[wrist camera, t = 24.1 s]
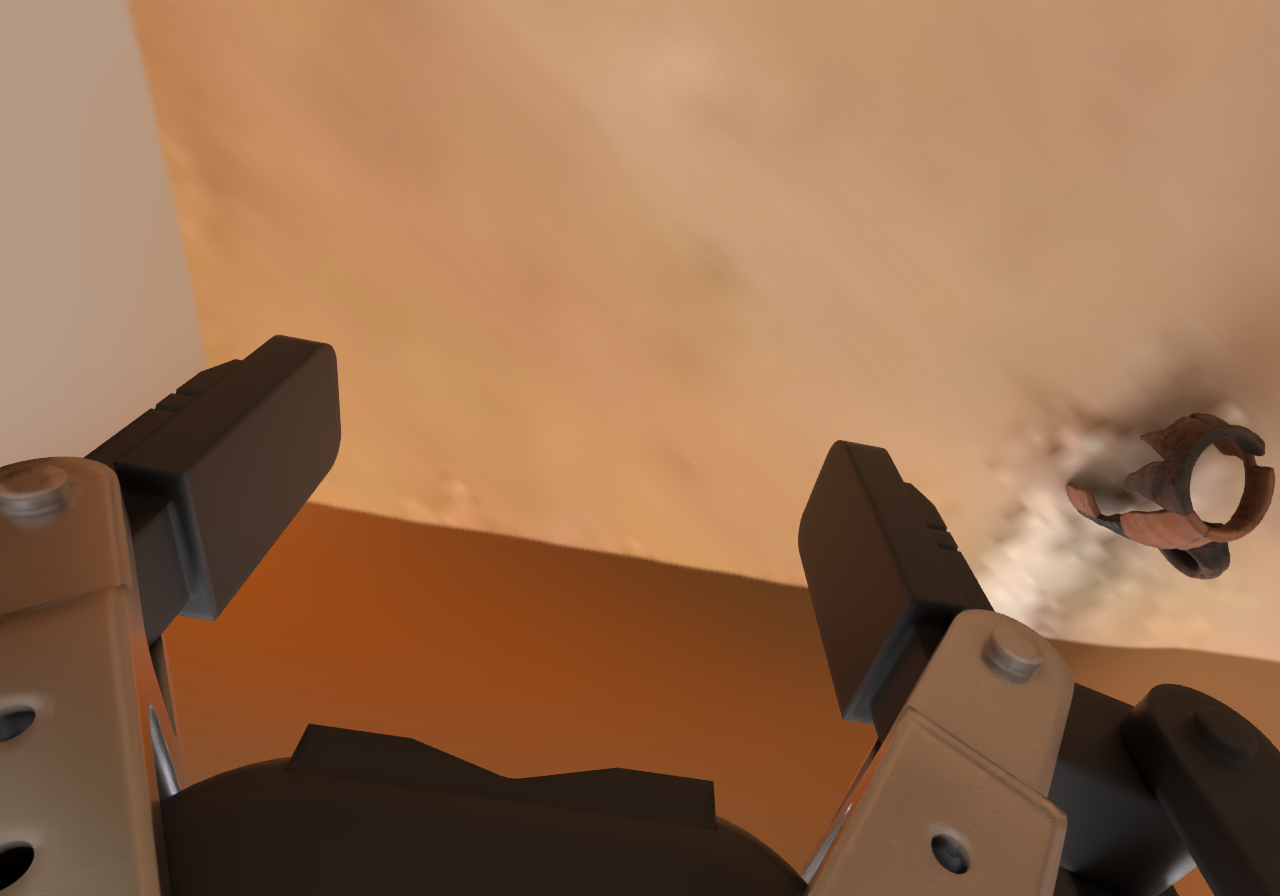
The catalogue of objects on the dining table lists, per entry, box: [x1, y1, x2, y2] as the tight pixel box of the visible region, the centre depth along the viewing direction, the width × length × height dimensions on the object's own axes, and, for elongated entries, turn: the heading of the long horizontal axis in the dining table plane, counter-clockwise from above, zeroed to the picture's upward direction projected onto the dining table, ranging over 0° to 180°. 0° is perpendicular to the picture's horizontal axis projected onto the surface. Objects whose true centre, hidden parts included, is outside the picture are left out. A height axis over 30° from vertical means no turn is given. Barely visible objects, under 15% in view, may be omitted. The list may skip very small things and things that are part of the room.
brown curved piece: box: [1066, 413, 1275, 579], centre depth 44 cm, size 12×9×8 cm
